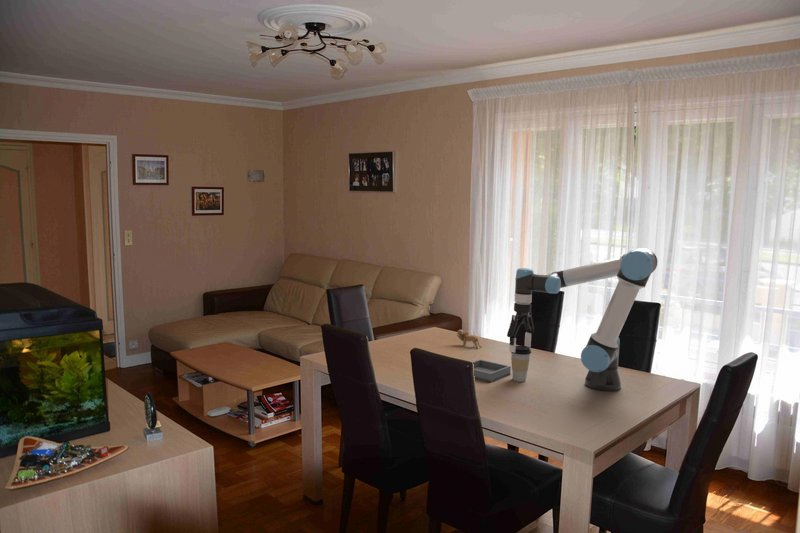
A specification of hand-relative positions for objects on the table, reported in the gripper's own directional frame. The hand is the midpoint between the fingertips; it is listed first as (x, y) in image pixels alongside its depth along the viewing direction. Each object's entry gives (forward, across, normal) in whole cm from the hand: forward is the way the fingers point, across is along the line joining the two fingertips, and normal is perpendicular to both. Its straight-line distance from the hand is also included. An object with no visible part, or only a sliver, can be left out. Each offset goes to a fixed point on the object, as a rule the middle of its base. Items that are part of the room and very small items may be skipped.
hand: (519, 349), depth 272 cm
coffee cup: (+14, 0, +1) cm, 14 cm away
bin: (+14, +4, -15) cm, 21 cm away
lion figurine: (+15, -34, -51) cm, 63 cm away
